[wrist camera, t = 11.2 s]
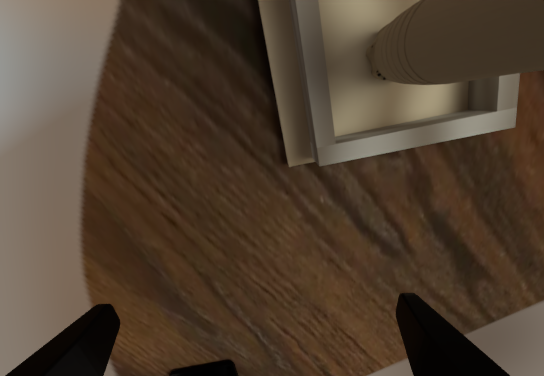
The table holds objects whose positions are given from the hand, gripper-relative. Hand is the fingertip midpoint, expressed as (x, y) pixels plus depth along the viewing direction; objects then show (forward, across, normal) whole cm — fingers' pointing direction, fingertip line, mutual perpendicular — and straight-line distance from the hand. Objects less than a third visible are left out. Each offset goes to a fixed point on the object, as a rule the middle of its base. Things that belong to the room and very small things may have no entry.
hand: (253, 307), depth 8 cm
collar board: (+15, -9, -6) cm, 19 cm away
